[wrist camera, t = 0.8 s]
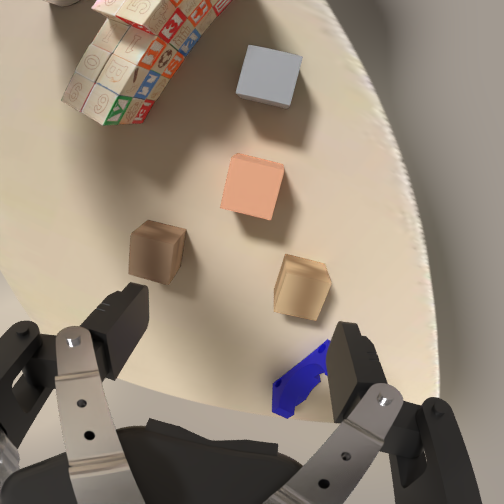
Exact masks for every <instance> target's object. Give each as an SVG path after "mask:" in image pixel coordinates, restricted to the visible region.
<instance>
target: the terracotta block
mask: <svg viewBox="0 0 504 504" xmlns="http://www.w3.org/2000/svg"><path fill="white" fill-rule="evenodd" d="M283 174H284V167H283V164H280V163H276V162H272V161H268V160H264V159H260V158H256V157H252V156H248V155H243V154H239V153H237V154H236V155H234V156H233V157H231V161H230V165H229V170H228V174H227V179H226V183H225V188H224V192H223V197H222V202H221V206H220V208H222V209H227V210H231V211H235V212H239V213H243V214H247V215H251V216H255V217H259V218H263V219H267V220H271V218H272V215H273V211H274V207H275V204H276V200H277V196H278V193H279V189H280V185H281V181H282V178H283Z"/></svg>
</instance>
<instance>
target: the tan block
mask: <svg viewBox="0 0 504 504" xmlns="http://www.w3.org/2000/svg"><path fill="white" fill-rule="evenodd" d="M185 234H186V229H183V228H179V227H175V226H171V225H166V224H162V223H158V222H154V221H150V220H147V221H146V222H145V223H143V224H142V225H141V226H140V227H139V228H137V229H136V230H135V231H134V232H133V233H131V238H130V253H129V274H130V275H134V276H137V277H141V278H144V279H148V280H151V281H155V282H158V283H162V284H165V285H169V284H170V282H171V281H172V279H173V278H174V276H175V274H176V273H177V271H178V269H179V268H180V266H181V260H182V253H183V247H184V240H185Z"/></svg>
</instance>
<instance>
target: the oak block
mask: <svg viewBox="0 0 504 504" xmlns="http://www.w3.org/2000/svg"><path fill="white" fill-rule="evenodd" d="M331 284H332V283H331V280H330V277H329V274H328V271H327V268H326V265H325V264H324V263H320V262H316V261H312V260H308V259H304V258H300V257H296V256H292V255H288V254H285V256H284V259H283V262H282V266H281V269H280V272H279V275H278V278H277V282H276V285H275V288H274V312H277V313H282V314H286V315H291V316H295V317H300V318H305V319H309V320H314V321H316V320H317V318H318V315H319V313H320V311H321V308H322V306H323V304H324V301H325V299H326V296H327V294H328V292H329V289H330V287H331Z"/></svg>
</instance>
